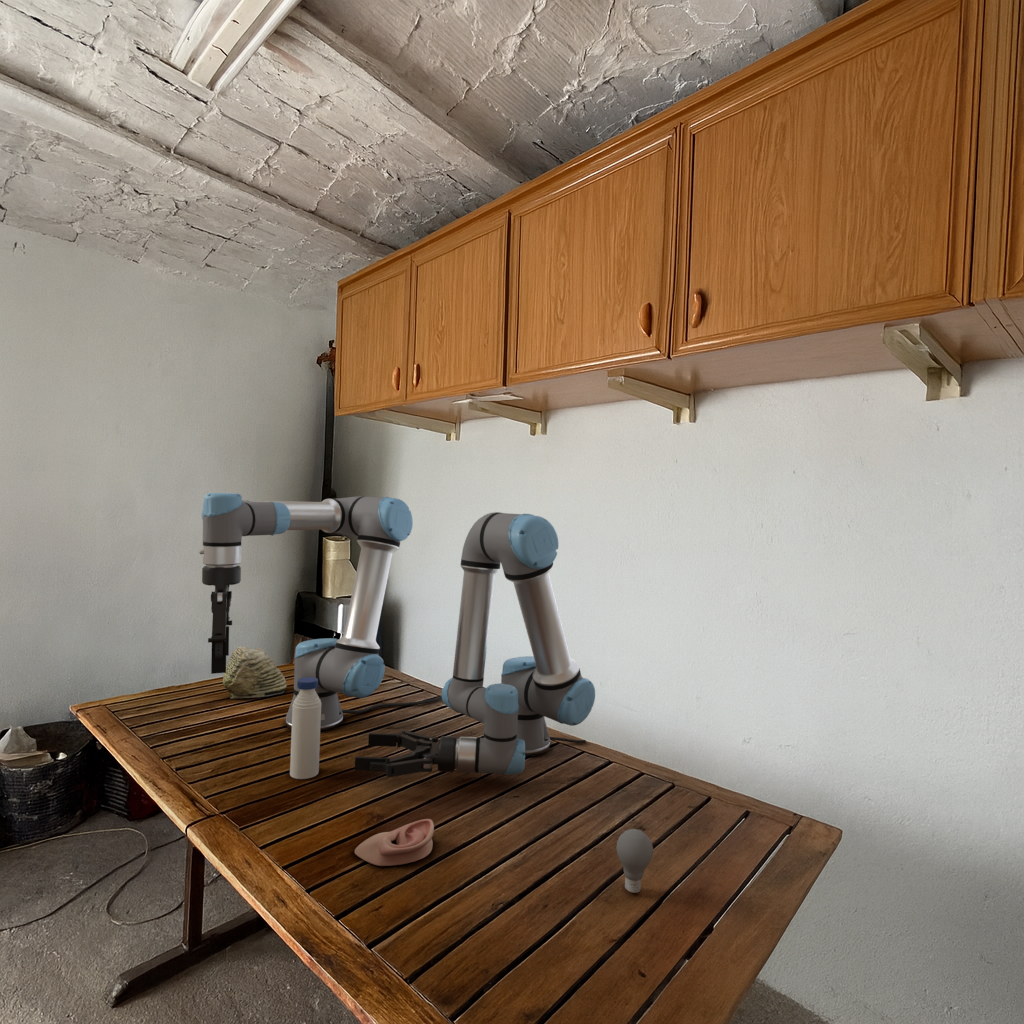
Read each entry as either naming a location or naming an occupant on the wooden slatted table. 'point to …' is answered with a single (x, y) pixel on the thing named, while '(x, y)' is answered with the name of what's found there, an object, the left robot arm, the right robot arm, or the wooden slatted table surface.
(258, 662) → the fossil
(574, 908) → the wooden slatted table surface
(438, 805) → the wooden slatted table surface
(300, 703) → the bottle
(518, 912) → the wooden slatted table surface
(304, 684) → the cap
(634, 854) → the light bulb
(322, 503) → the left robot arm
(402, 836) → the anatomical model
